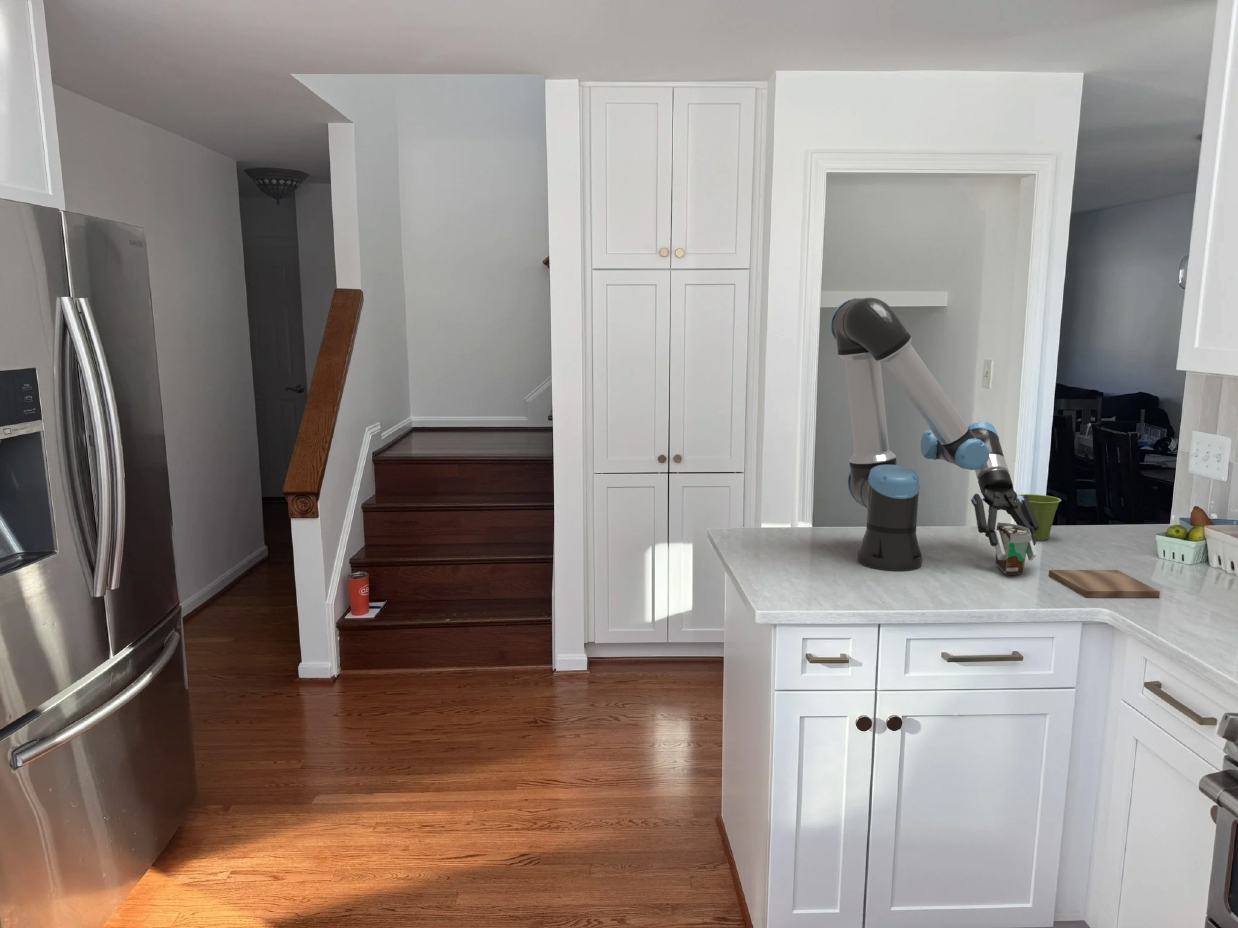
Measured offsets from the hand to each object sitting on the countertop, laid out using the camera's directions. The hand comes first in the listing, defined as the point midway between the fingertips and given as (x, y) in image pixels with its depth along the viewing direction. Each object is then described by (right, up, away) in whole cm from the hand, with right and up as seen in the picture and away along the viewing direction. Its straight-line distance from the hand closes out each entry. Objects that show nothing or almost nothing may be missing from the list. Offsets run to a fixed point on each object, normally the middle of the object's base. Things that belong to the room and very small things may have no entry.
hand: (1017, 557), depth 202 cm
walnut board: (+15, -6, -8) cm, 18 cm away
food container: (0, -3, +2) cm, 4 cm away
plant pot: (+21, +1, +35) cm, 41 cm away
